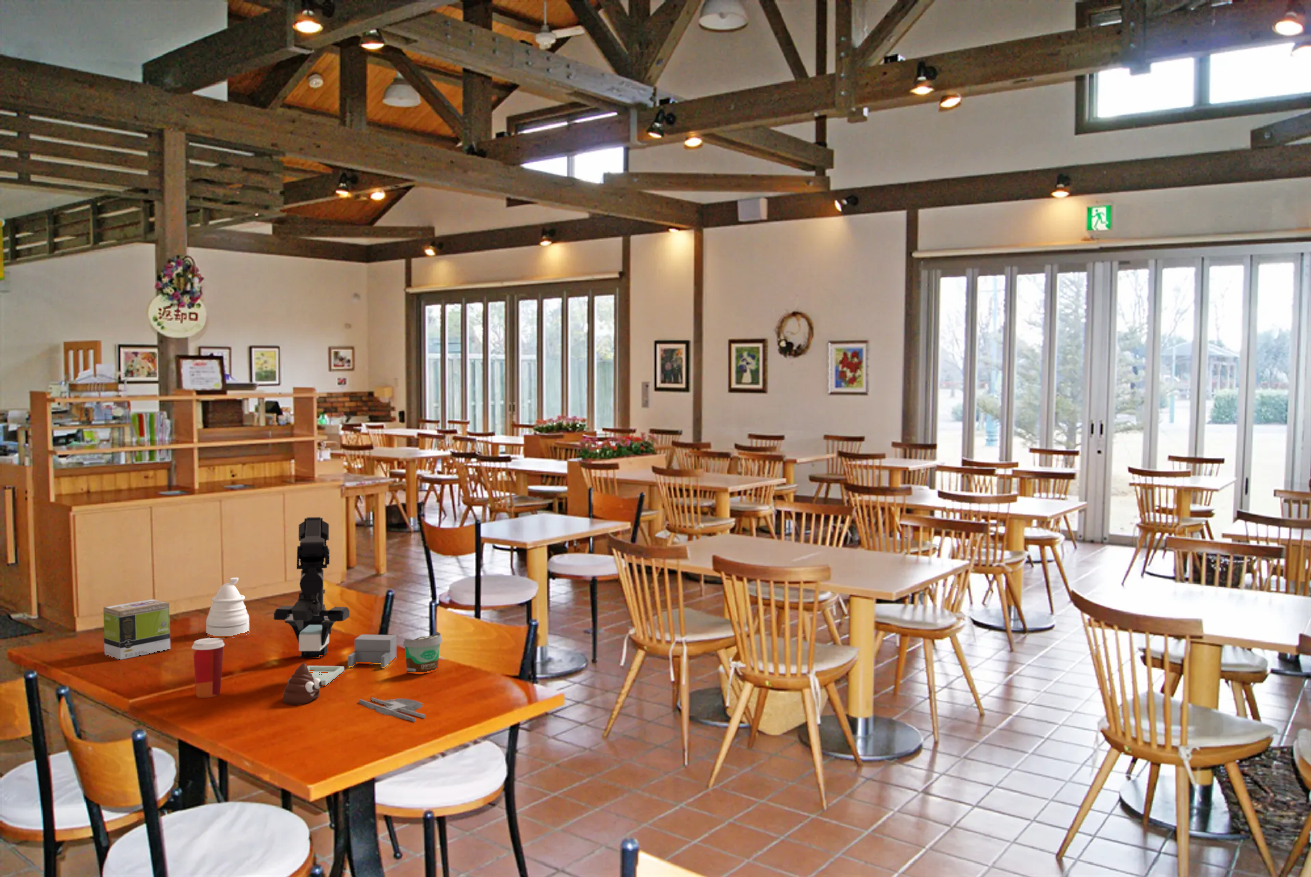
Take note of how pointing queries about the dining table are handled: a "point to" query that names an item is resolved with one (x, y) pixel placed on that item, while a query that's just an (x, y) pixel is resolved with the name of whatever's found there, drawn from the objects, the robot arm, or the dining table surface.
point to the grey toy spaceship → (395, 707)
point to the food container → (422, 653)
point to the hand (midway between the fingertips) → (311, 645)
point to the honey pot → (227, 612)
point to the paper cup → (208, 666)
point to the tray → (325, 677)
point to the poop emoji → (301, 687)
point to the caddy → (311, 638)
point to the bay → (374, 649)
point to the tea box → (136, 628)
